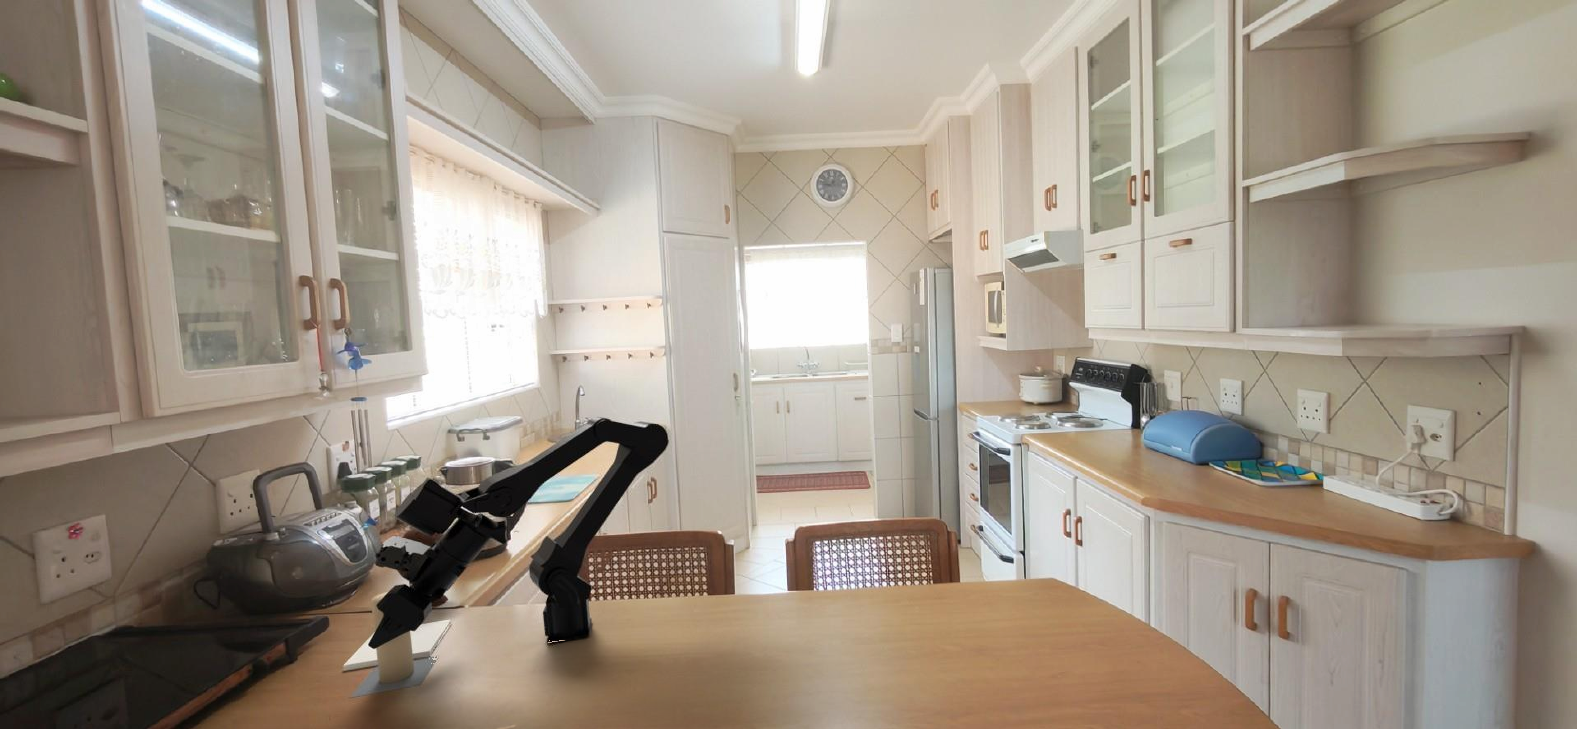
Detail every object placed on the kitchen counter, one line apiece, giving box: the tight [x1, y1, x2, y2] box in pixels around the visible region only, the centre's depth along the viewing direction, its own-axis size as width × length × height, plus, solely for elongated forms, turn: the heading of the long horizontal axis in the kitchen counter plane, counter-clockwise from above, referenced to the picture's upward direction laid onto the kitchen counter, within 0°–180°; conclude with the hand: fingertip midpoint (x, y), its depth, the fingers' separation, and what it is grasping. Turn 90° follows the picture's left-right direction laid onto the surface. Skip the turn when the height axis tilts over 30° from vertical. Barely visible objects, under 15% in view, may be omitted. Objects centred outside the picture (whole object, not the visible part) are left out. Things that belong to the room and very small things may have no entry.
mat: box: [349, 655, 438, 699], centre depth 94 cm, size 9×9×1 cm
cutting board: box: [343, 618, 453, 672], centre depth 104 cm, size 12×12×1 cm
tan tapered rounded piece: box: [370, 591, 414, 684], centre depth 94 cm, size 4×4×12 cm
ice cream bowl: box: [396, 528, 449, 609], centre depth 122 cm, size 11×11×15 cm
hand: (382, 634), depth 93 cm, fingers open, 8 cm apart
